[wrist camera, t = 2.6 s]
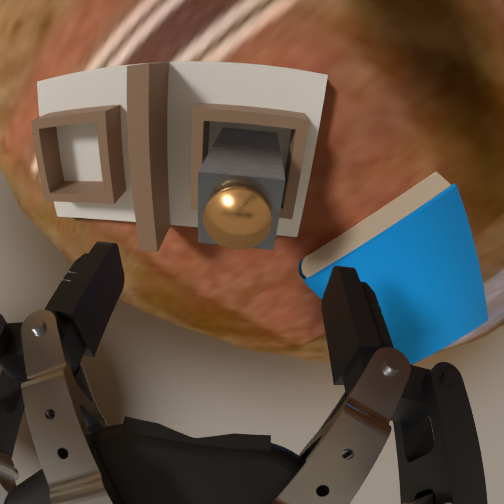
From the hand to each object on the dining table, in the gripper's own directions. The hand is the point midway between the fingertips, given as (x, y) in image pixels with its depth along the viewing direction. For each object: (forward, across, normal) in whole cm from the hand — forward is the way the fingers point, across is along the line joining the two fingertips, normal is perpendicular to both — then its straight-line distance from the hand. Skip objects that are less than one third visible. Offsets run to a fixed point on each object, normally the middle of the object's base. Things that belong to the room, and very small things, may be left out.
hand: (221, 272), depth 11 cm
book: (+16, -21, +13) cm, 29 cm away
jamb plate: (+15, +7, 0) cm, 16 cm away
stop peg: (+14, 0, 0) cm, 14 cm away
